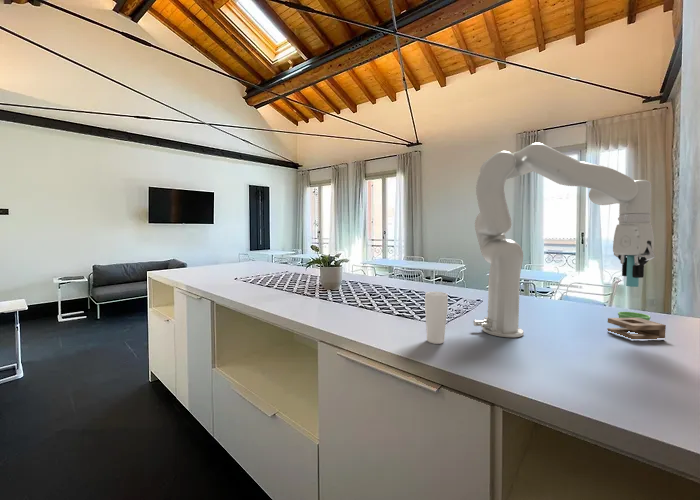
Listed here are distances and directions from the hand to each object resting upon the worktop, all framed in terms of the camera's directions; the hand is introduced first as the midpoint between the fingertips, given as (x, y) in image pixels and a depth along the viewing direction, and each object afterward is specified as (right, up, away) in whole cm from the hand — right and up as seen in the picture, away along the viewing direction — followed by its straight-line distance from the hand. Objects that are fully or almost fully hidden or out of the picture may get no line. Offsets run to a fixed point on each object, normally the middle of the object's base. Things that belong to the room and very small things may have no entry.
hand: (632, 276), depth 104 cm
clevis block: (+1, -20, +1) cm, 20 cm away
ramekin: (+12, -20, +13) cm, 27 cm away
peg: (0, -3, 0) cm, 3 cm away
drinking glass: (-65, -20, -4) cm, 68 cm away
